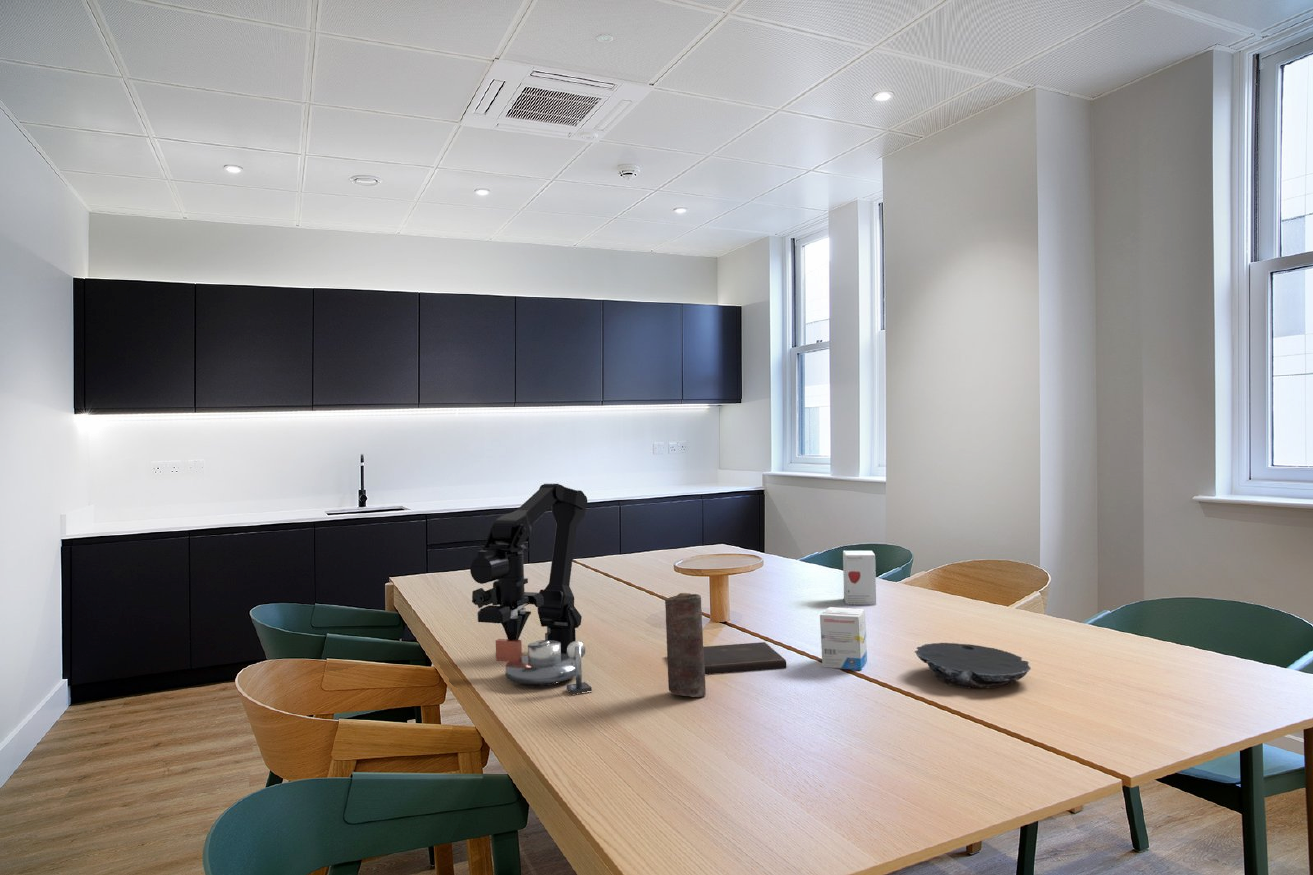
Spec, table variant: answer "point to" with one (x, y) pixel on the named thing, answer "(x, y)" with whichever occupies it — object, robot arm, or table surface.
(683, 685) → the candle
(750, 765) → the table surface
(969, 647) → the dark grey flat disc
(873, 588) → the supplement box
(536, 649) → the cover
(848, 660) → the ink box
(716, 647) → the hardcover book
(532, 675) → the turntable
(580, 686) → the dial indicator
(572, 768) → the table surface
